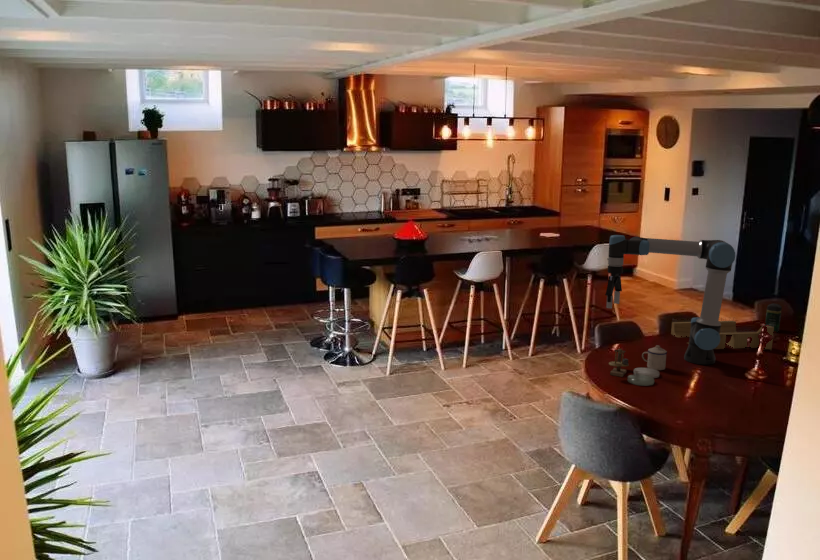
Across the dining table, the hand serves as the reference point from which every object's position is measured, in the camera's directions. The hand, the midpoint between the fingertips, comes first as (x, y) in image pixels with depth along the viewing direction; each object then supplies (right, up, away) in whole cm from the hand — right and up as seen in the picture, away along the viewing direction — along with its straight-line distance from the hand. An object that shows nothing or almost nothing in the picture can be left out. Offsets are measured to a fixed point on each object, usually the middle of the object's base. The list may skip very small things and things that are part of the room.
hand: (612, 305), depth 356 cm
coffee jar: (+116, -20, +64) cm, 134 cm away
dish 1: (+10, -33, -20) cm, 40 cm away
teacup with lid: (+18, -31, -8) cm, 37 cm away
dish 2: (+4, -35, -31) cm, 47 cm away
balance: (-3, -33, -20) cm, 38 cm away
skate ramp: (+72, -24, +38) cm, 85 cm away
